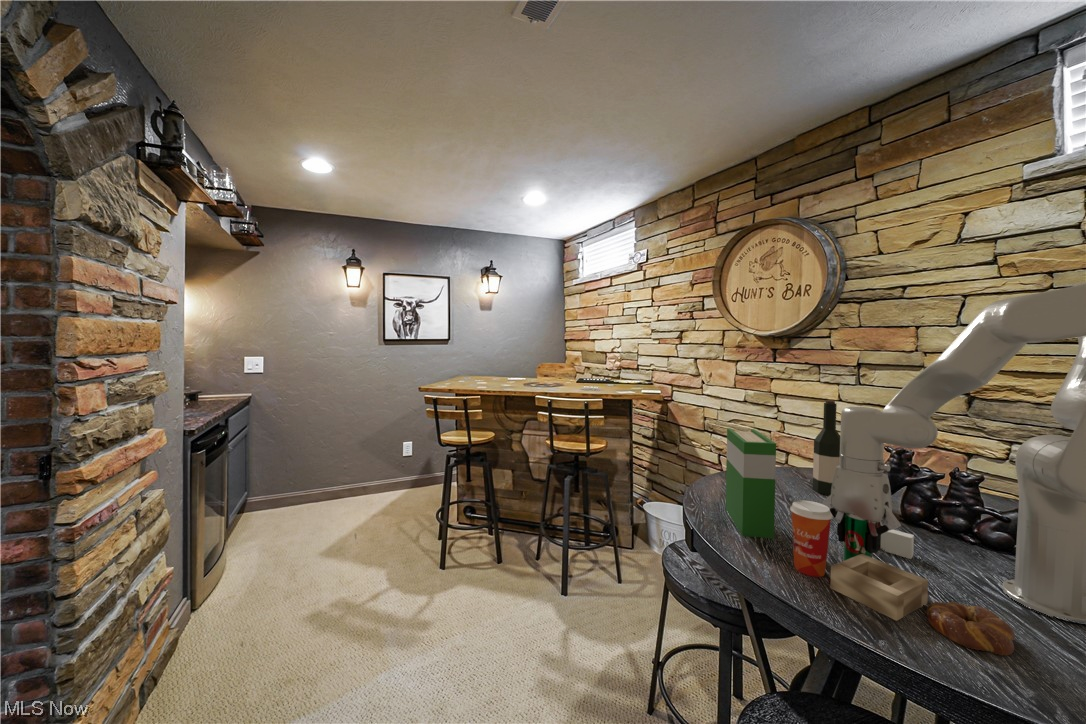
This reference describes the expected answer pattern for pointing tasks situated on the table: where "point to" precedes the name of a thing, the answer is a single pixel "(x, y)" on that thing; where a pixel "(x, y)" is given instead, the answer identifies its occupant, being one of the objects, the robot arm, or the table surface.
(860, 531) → the soda can
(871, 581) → the holder
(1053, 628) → the table surface
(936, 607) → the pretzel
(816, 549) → the paper cup
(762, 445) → the hardback book
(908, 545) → the white stepped block
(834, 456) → the wine bottle
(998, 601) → the table surface
